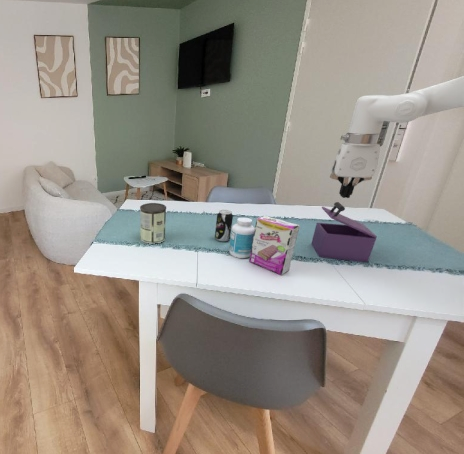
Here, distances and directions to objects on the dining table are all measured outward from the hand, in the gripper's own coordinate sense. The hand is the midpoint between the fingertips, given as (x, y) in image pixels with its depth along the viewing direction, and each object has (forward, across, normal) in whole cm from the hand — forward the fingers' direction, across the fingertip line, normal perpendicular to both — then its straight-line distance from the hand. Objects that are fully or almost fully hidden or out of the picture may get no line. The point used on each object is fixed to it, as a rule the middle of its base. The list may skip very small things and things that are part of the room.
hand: (344, 196), depth 96 cm
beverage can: (+21, -36, +1) cm, 41 cm away
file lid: (+9, +3, 0) cm, 9 cm away
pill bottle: (+21, -30, -10) cm, 38 cm away
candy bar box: (+21, -21, -17) cm, 34 cm away
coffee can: (+21, -63, -5) cm, 66 cm away
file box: (+21, +3, 0) cm, 21 cm away
